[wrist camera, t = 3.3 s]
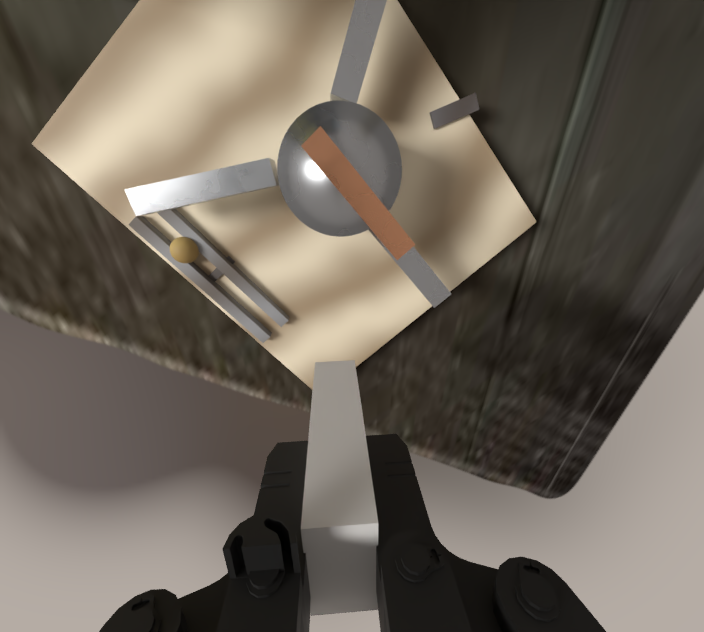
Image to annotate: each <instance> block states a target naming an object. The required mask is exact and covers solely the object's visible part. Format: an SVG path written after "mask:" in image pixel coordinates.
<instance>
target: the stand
mask: <svg viewBox="0 0 704 632" xmlns="http://www.w3.org/2000/svg"><path fill="white" fill-rule="evenodd" d="M354 3H355V0H140V1H139V2H138V3H137V5H136V6H135V7H134V9H133V10H132V11H131V13H130V14H129V15H128V17H127V18H126V19H125V20H124V22H123V23H122V24H121V26H120V27H119V28H118V30H117V31H116V32H115V34H114V35H113V36H112V38H111V39H110V40H109V42H108V43H107V44H106V46H105V47H104V48H103V50H102V51H101V52H100V54H99V55H98V56H97V58H96V59H95V60H94V62H93V63H92V64H91V66H90V67H89V68H88V70H87V71H86V72H85V74H84V75H83V76H82V78H81V79H80V80H79V82H78V83H77V84H76V86H75V87H74V88H73V90H72V91H71V92H70V93H69V95H68V96H67V97H66V99H65V100H64V101H63V103H62V104H61V105H60V107H59V108H58V109H57V111H56V112H55V113H54V115H53V116H52V117H51V119H50V120H49V121H48V123H47V124H46V125H45V127H44V128H43V129H42V131H41V132H40V133H39V135H38V136H37V137H36V139H35V140H34V141H33V143H32V145H34V146H35V147H36V148H37V149H38V150H39V151H40V152H42V153H43V154H44V155H45V156H46V157H47V158H48V159H50V160H51V161H52V162H53V163H54V164H55V165H56V166H58V167H59V168H60V169H61V170H62V171H63V172H64V173H66V174H67V175H68V176H69V177H70V178H71V179H72V180H74V181H75V182H76V183H77V184H78V185H79V186H80V187H82V188H83V189H84V190H85V191H86V192H87V193H88V194H90V195H91V196H92V197H93V198H94V199H95V200H96V201H98V202H99V203H100V204H101V205H102V206H103V207H104V208H106V209H107V210H108V211H109V212H110V213H111V214H112V215H114V216H115V217H116V218H117V219H118V220H119V221H120V222H122V223H123V224H124V225H125V226H126V227H127V228H128V229H129V230H131V231H132V232H133V233H134V234H135V235H136V236H137V237H139V238H140V239H141V240H142V241H143V242H144V243H145V244H147V245H148V246H149V247H150V248H151V249H152V250H153V251H155V252H156V253H157V254H158V255H159V256H160V257H161V258H163V259H164V260H165V261H166V262H167V263H168V264H169V265H171V266H172V267H173V268H174V269H175V270H176V271H177V272H179V273H180V274H181V275H182V276H183V277H184V278H185V279H187V280H188V281H189V282H190V283H191V284H192V285H193V286H195V287H196V288H197V289H198V290H199V291H200V292H201V293H203V294H204V295H205V296H206V297H207V298H208V299H209V300H211V301H212V302H213V303H214V304H215V305H216V306H217V307H219V308H220V309H221V310H222V311H223V312H224V313H225V314H227V315H228V316H229V317H230V318H231V319H232V320H233V321H235V322H236V323H237V324H238V325H239V326H240V327H241V328H243V329H244V330H245V331H246V332H247V333H248V334H249V335H251V336H252V337H253V338H254V339H255V340H256V341H257V342H259V343H260V344H261V345H262V346H263V347H264V348H265V349H267V350H268V351H269V352H270V353H271V354H272V355H273V356H274V357H276V358H277V359H278V360H279V361H280V362H281V363H282V364H284V365H285V366H286V367H287V368H288V369H289V370H290V371H292V372H293V373H294V374H295V375H296V376H297V377H298V378H300V379H301V380H302V381H303V382H304V383H305V384H306V385H308V386H309V387H310V388H311V389H312V390H313V380H314V369H315V362H330V361H349V360H355V366H356V367H357V366H358V365H359V364H361V363H362V362H363V361H364V360H366V359H367V358H368V357H369V356H371V355H372V354H373V353H374V352H376V351H377V350H378V349H379V348H380V347H382V346H383V345H384V344H385V343H387V342H388V341H389V340H390V339H392V338H393V337H394V336H395V335H397V334H398V333H399V332H400V331H402V330H403V329H404V328H405V327H407V326H408V325H409V324H410V323H412V322H413V321H414V320H415V319H417V318H418V317H419V316H420V315H422V314H423V313H424V312H425V311H427V310H428V309H429V308H430V307H432V305H431V304H430V302H429V301H428V300H427V299H426V298H425V297H424V295H423V294H422V293H421V292H420V291H419V289H418V288H417V287H416V286H415V285H414V284H413V282H412V281H411V280H410V279H409V278H408V276H407V275H406V274H405V273H404V272H403V270H402V269H401V268H400V267H399V266H398V265H397V263H396V262H395V261H394V260H393V259H392V257H391V256H390V255H389V254H388V253H387V252H386V250H385V249H384V248H383V247H382V246H381V244H380V243H379V242H378V241H377V240H376V239H375V237H374V236H373V235H372V234H371V233H370V231H369V230H366V231H364V232H362V233H359V234H356V235H352V236H345V237H336V236H329V235H325V234H322V233H319V232H317V231H315V230H313V229H311V228H309V227H308V226H306V225H305V224H304V223H302V222H301V221H300V220H299V219H298V218H297V217H296V216H295V215H294V214H293V212H292V211H291V210H290V208H289V207H288V205H287V203H286V202H285V199H284V197H283V195H282V192H281V189H280V186H276V187H272V188H267V189H262V190H258V191H253V192H249V193H244V194H240V195H235V196H230V197H226V198H221V199H217V200H212V201H208V202H203V203H198V204H194V205H189V206H185V207H180V208H176V209H171V210H167V211H162V212H157V213H152V214H146V215H139V216H136V215H135V213H134V211H133V208H132V206H131V204H130V201H129V199H128V197H127V194H126V192H125V189H129V188H134V187H138V186H143V185H147V184H152V183H156V182H161V181H166V180H170V179H175V178H179V177H184V176H188V175H193V174H197V173H202V172H206V171H211V170H215V169H220V168H225V167H229V166H234V165H238V164H243V163H247V162H252V161H256V160H261V159H265V158H271V159H273V160H275V164H276V167H277V160H278V154H279V149H280V146H281V143H282V140H283V138H284V136H285V134H286V132H287V130H288V129H289V127H290V126H291V124H292V123H293V122H294V121H295V119H296V118H298V117H299V116H300V115H301V114H302V113H303V112H305V111H306V110H308V109H309V108H311V107H313V106H315V105H317V104H320V103H323V102H327V101H330V96H331V90H332V86H333V82H334V79H335V75H336V71H337V67H338V63H339V60H340V56H341V52H342V48H343V45H344V41H345V37H346V33H347V30H348V26H349V22H350V18H351V15H352V11H353V7H354ZM357 104H360V105H362V106H364V107H366V108H368V109H370V110H371V111H373V112H374V113H376V114H377V115H378V116H379V117H380V118H381V119H382V120H383V121H384V122H385V123H386V124H387V126H388V127H389V129H390V130H391V132H392V133H393V135H394V137H395V139H396V141H397V144H398V147H399V150H400V155H401V161H402V178H401V184H400V189H399V192H398V195H397V197H396V200H395V202H394V204H393V205H392V207H391V209H390V210H389V212H390V213H391V215H392V216H393V217H394V218H395V220H396V221H397V222H398V223H399V225H400V226H401V227H402V228H403V230H404V231H405V232H406V233H407V235H408V236H409V237H410V238H411V240H412V241H413V242H414V243H415V246H413V247H414V248H415V249H416V250H417V252H418V253H419V254H420V255H421V257H422V258H423V259H424V260H425V261H426V263H427V264H428V265H429V266H430V268H431V269H432V270H433V271H434V273H435V274H436V275H437V276H438V278H439V279H440V280H441V281H442V283H443V284H444V285H445V286H446V288H447V289H448V290H449V291H451V290H453V289H454V288H455V287H456V286H458V285H459V284H460V283H461V282H463V281H464V280H465V279H466V278H468V277H469V276H470V275H471V274H473V273H474V272H475V271H476V270H478V269H479V268H480V267H481V266H483V265H484V264H485V263H486V262H488V261H489V260H490V259H491V258H492V257H494V256H495V255H496V254H497V253H499V252H500V251H501V250H502V249H504V248H505V247H506V246H507V245H509V244H510V243H511V242H512V241H514V240H515V239H516V238H517V237H519V236H520V235H521V234H522V233H524V232H525V231H526V230H527V229H529V228H530V227H531V226H532V225H534V224H535V223H536V220H535V218H534V217H533V215H532V214H531V212H530V210H529V209H528V207H527V206H526V204H525V203H524V201H523V199H522V198H521V196H520V195H519V193H518V191H517V190H516V188H515V187H514V185H513V183H512V182H511V180H510V179H509V177H508V175H507V174H506V172H505V171H504V169H503V168H502V166H501V164H500V163H499V161H498V160H497V158H496V156H495V155H494V153H493V152H492V150H491V148H490V147H489V145H488V144H487V142H486V140H485V139H484V137H483V136H482V134H481V132H480V131H479V129H478V128H477V126H476V125H475V123H474V121H473V120H472V118H471V117H470V115H469V114H471V113H473V112H475V111H478V110H479V105H478V101H477V96H476V93H473V94H471V95H469V96H466V97H464V98H462V99H459V97H458V96H457V94H456V93H455V91H454V90H453V88H452V86H451V85H450V83H449V82H448V80H447V78H446V77H445V75H444V74H443V72H442V70H441V69H440V67H439V66H438V64H437V62H436V61H435V59H434V58H433V56H432V55H431V53H430V51H429V50H428V48H427V47H426V45H425V43H424V42H423V40H422V39H421V37H420V35H419V34H418V32H417V31H416V29H415V27H414V26H413V24H412V23H411V21H410V19H409V18H408V16H407V15H406V13H405V12H404V10H403V8H402V7H401V5H400V4H399V2H398V0H387V1H386V5H385V8H384V12H383V15H382V18H381V22H380V25H379V29H378V32H377V36H376V39H375V42H374V46H373V49H372V53H371V56H370V60H369V63H368V66H367V70H366V73H365V77H364V80H363V83H362V87H361V90H360V94H359V97H358V101H357Z"/></svg>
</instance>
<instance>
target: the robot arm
mask: <svg viewBox="0 0 704 632" xmlns="http://www.w3.org/2000/svg"><path fill="white" fill-rule="evenodd" d="M411 462H412V461H411V458H410V454H409V451H408V448H407V445H406V444H405V443H404V442H403V441H402V440H401V439H400V437H399V436H398V435H397V434H388V435H372V436H366V435H365V428H364V421H363V414H362V407H361V400H360V394H359V387H358V380H357V373H356V366H355V360H349V361H330V362H315V369H314V380H313V392H312V404H311V415H310V427H309V440H308V441H297V442H282V443H277V445H276V446H275V447H274V449H273V450H272V451H271V453H270V454H269V455H268V457H267V461H266V466H265V470H264V476H263V479H262V483H261V489H260V491H259V495H258V500H257V504H256V509H255V513H254V516H252V517H250V518H248V519H247V520H245V521H243V522H242V523H240V524H239V525H238V526H237V527H236V528H235V529H234V531H233V532H232V533H231V534H230V535H229V537H228V539H227V541H226V543H225V545H224V547H223V553H224V557H225V561H226V565H227V569H228V573H227V574H226V575H225V576H224V577H222V578H221V579H220V580H218V581H216V582H215V583H213V584H211V585H209V586H207V587H205V588H203V589H200V590H198V591H196V592H193V593H191V594H189V595H186V596H184V597H182V598H179V599H177V597H176V595H175V594H173V593H171V592H169V591H167V590H166V589H159V590H150V591H147V592H145V593H142V594H140V595H137V596H135V597H134V598H132V599H131V600H130V601H128V602H127V603H126V604H124V605H123V606H121V607H120V608H119V609H118V610H117V611H116V612H115V613H114V614H113V615H112V617H111V618H110V619H109V620H108V621H107V622H106V623H105V625H104V626H103V627H102V628H101V630H100V631H99V632H309V623H310V614H311V616H312V615H323V614H334V613H346V612H357V611H368V610H377V609H378V611H379V620H380V628H381V632H606V631H605V630H604V629H603V627H602V626H601V625H600V624H599V622H598V621H597V620H596V619H595V618H594V616H593V615H592V614H591V613H590V612H589V610H588V609H587V608H586V607H585V605H584V604H583V603H582V602H581V601H580V600H579V598H578V597H577V596H576V595H575V593H574V592H573V591H572V590H571V589H570V588H569V586H568V585H567V584H566V583H565V582H564V581H563V580H562V579H561V578H560V577H559V576H558V575H557V574H556V573H555V572H554V571H553V570H552V569H550V568H548V567H547V566H545V565H543V564H542V563H540V562H538V561H536V560H532V559H528V558H525V557H516V558H509V559H508V560H507V561H505V562H504V563H503V564H501V565H500V567H499V569H494V568H491V567H487V566H483V565H479V564H476V563H472V562H468V561H466V560H464V559H461V558H459V557H457V556H455V555H454V554H452V553H451V552H449V551H448V550H447V549H446V548H445V547H444V546H443V545H442V544H441V543H440V542H439V540H438V539H437V537H436V536H435V534H434V531H433V529H432V527H431V524H430V520H429V517H428V514H427V511H426V507H425V504H424V501H423V498H422V494H421V491H420V487H419V484H418V481H417V477H416V476H415V471H414V468H413V464H412V463H411Z"/></svg>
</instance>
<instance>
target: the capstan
mask: <svg viewBox="0 0 704 632" xmlns="http://www.w3.org/2000/svg"><path fill="white" fill-rule="evenodd" d="M386 1H387V0H355V3H354V7H353V11H352V15H351V18H350V22H349V26H348V30H347V33H346V37H345V41H344V45H343V48H342V52H341V56H340V60H339V63H338V67H337V71H336V75H335V79H334V82H333V86H332V90H331V96H330V101H327V102H323V103H320V104H317V105H315V106H313V107H311V108H309V109H308V110H306V111H305V112H303V113H302V114H301V115H300V116H299V117H298V118H296V119H295V121H294V122H293V123H292V124H291V126H290V127H289V129H288V130H287V132H286V134H285V136H284V138H283V140H282V143H281V146H280V149H279V154H278V160H277V167H276V164H275V160H273V159H271V158H265V159H261V160H256V161H252V162H247V163H243V164H238V165H234V166H229V167H225V168H220V169H215V170H211V171H206V172H202V173H197V174H193V175H188V176H184V177H179V178H175V179H170V180H166V181H161V182H156V183H152V184H147V185H143V186H138V187H134V188H129V189H125V192H126V194H127V197H128V199H129V201H130V204H131V206H132V208H133V211H134V213H135V215H136V216H139V215H146V214H152V213H157V212H162V211H167V210H171V209H176V208H180V207H185V206H189V205H194V204H198V203H203V202H208V201H212V200H217V199H221V198H226V197H230V196H235V195H240V194H244V193H249V192H253V191H258V190H262V189H267V188H272V187H276V186H280V189H281V192H282V195H283V197H284V199H285V202H286V203H287V205H288V207H289V208H290V210H291V211H292V212H293V214H294V215H295V216H296V217H297V218H298V219H299V220H300V221H301V222H302V223H304V224H305V225H306V226H308V227H309V228H311V229H313V230H315V231H317V232H319V233H322V234H325V235H329V236H336V237H345V236H352V235H356V234H359V233H362V232H364V231H366V230H369V231H370V233H371V234H372V235H373V236H374V237H375V239H376V240H377V241H378V242H379V243H380V244H381V246H382V247H383V248H384V249H385V250H386V252H387V253H388V254H389V255H390V256H391V257H392V259H393V260H394V261H395V262H396V263H397V265H398V266H399V267H400V268H401V269H402V270H403V272H404V273H405V274H406V275H407V276H408V278H409V279H410V280H411V281H412V282H413V284H414V285H415V286H416V287H417V288H418V289H419V291H420V292H421V293H422V294H423V295H424V297H425V298H426V299H427V300H428V301H429V302H430V304H431V305H432V306H433V307H434V308H435V307H436V306H437V305H439V304H440V303H441V302H442V301H444V300H445V299H446V298H447V297H449V296H450V295H451V293H450V291H449V290H448V289H447V288H446V286H445V285H444V284H443V283H442V281H441V280H440V279H439V278H438V276H437V275H436V274H435V273H434V271H433V270H432V269H431V268H430V266H429V265H428V264H427V263H426V261H425V260H424V259H423V258H422V257H421V255H420V254H419V253H418V252H417V250H416V249H415V248H414V247H413V246H415V243H414V242H413V241H412V240H411V238H410V237H409V236H408V235H407V233H406V232H405V231H404V230H403V228H402V227H401V226H400V225H399V223H398V222H397V221H396V220H395V218H394V217H393V216H392V215H391V213H390V212H389V210H390V209H391V207H392V205H393V204H394V202H395V200H396V197H397V195H398V192H399V189H400V184H401V178H402V161H401V155H400V150H399V147H398V144H397V141H396V139H395V137H394V135H393V133H392V132H391V130H390V129H389V127H388V126H387V124H386V123H385V122H384V121H383V120H382V119H381V118H380V117H379V116H378V115H377V114H376V113H374V112H373V111H371V110H370V109H368V108H366V107H364V106H362V105H360V104H357V101H358V97H359V94H360V90H361V87H362V83H363V80H364V77H365V73H366V70H367V66H368V63H369V60H370V56H371V53H372V49H373V46H374V42H375V39H376V36H377V32H378V29H379V25H380V22H381V18H382V15H383V12H384V8H385V5H386Z"/></svg>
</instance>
